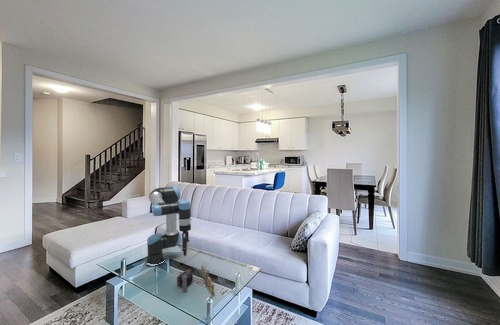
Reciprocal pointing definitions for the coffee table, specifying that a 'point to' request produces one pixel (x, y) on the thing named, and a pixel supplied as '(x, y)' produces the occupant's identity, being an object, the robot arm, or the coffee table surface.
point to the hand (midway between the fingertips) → (186, 255)
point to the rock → (189, 277)
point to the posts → (184, 281)
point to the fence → (210, 285)
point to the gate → (204, 273)
